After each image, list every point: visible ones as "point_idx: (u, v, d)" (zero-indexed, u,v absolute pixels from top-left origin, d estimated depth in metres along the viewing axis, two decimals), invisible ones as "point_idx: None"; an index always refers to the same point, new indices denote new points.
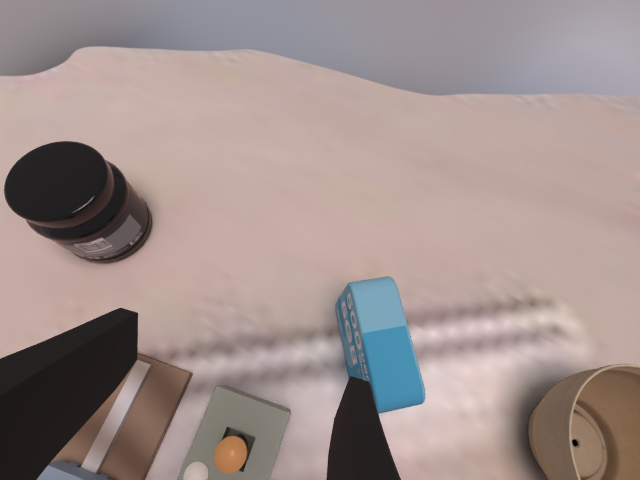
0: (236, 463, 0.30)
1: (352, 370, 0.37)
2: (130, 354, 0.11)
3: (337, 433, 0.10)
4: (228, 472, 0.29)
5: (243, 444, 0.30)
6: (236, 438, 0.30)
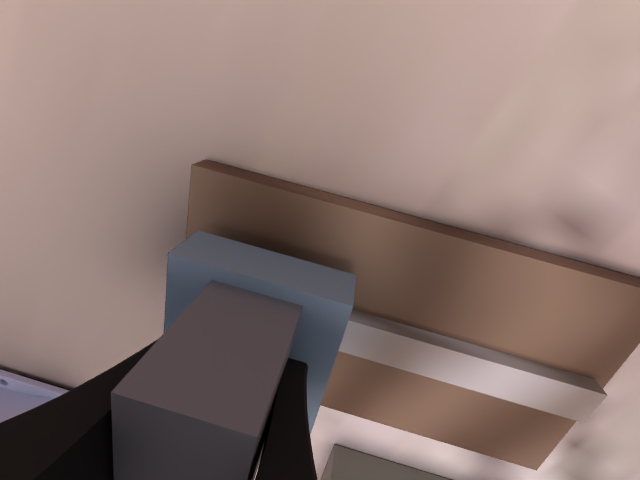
0: None
1: None
2: None
3: None
4: None
5: None
6: None
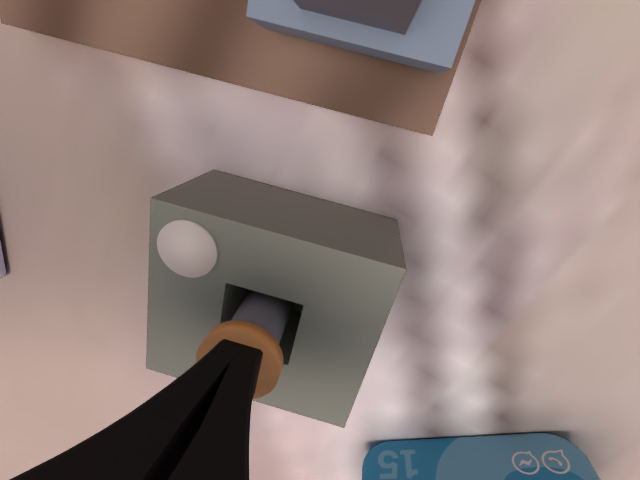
0: None
1: None
2: None
3: None
4: None
5: (264, 392, 0.11)
6: (275, 378, 0.11)
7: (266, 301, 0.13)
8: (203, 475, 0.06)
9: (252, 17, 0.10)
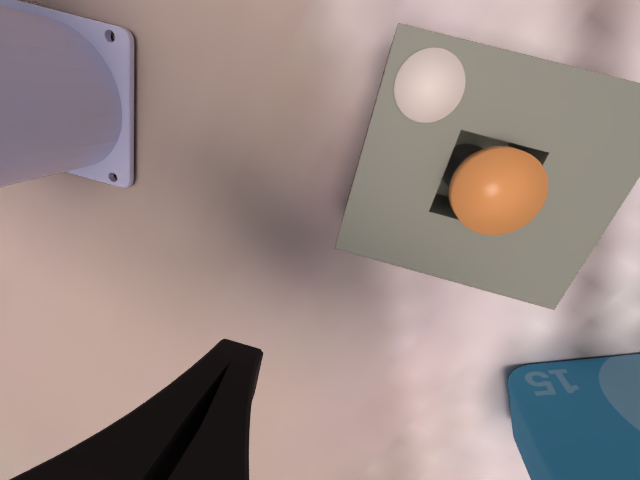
0: (475, 212, 0.11)
1: (607, 409, 0.17)
2: None
3: None
4: (455, 195, 0.11)
5: (520, 224, 0.11)
6: (539, 204, 0.11)
7: None
8: (203, 475, 0.06)
9: None
